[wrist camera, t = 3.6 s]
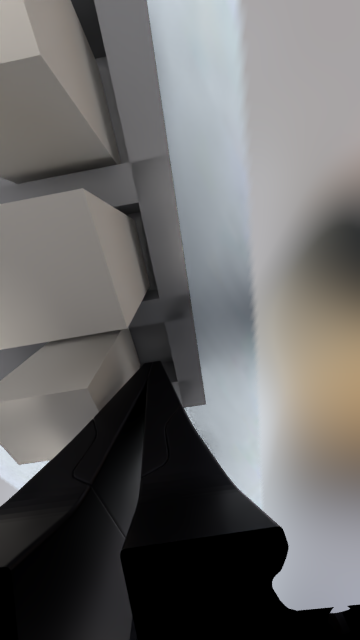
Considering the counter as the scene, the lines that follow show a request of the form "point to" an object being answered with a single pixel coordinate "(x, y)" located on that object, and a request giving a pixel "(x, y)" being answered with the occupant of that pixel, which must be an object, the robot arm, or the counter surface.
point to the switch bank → (133, 192)
